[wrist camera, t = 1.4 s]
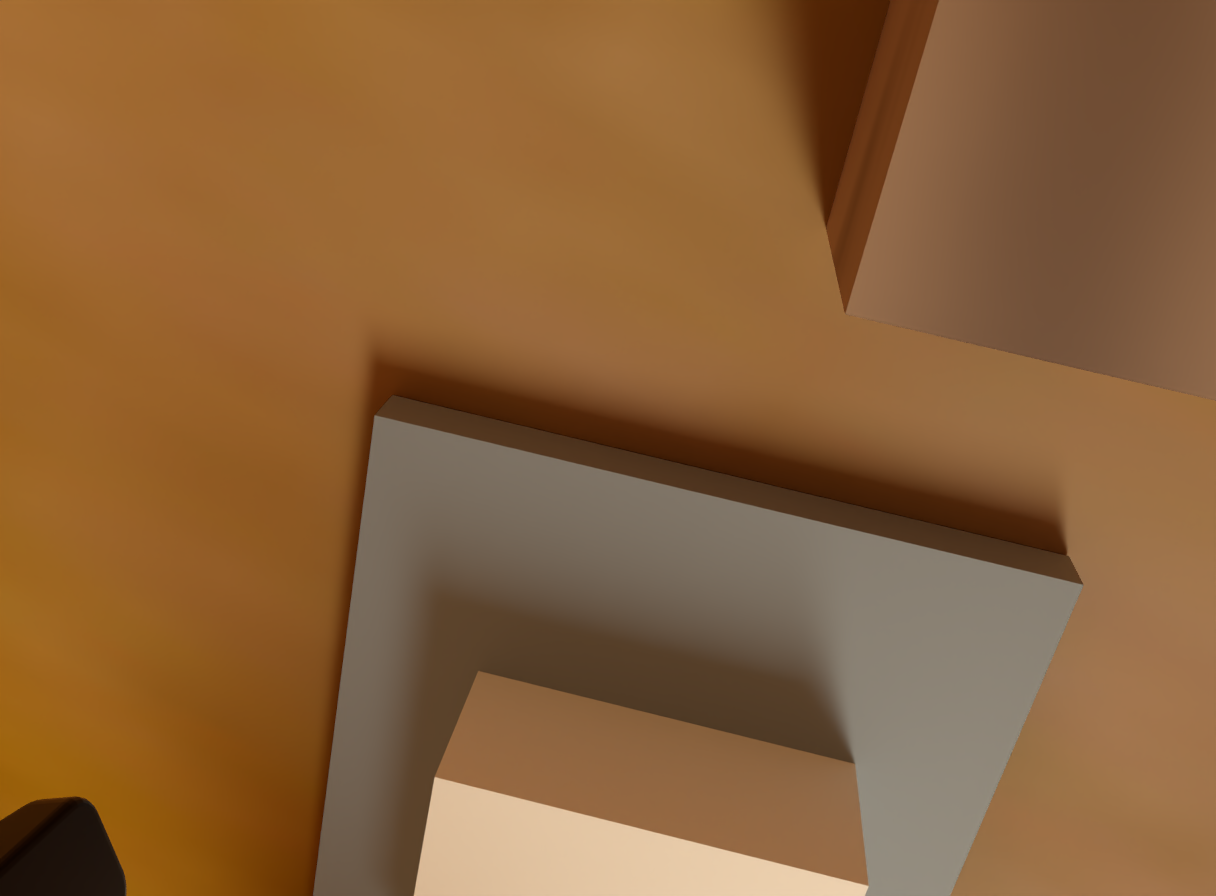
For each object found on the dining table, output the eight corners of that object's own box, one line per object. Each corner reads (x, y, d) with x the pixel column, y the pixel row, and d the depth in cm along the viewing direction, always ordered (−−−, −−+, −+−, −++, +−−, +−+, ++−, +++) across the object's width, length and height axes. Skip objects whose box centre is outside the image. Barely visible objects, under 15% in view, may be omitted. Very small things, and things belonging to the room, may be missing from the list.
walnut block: (1275, -42, 16) (1479, -45, 11) (1138, 298, 18) (1263, 412, 13) (923, -118, 16) (984, -153, 12) (825, 227, 18) (845, 313, 14)
